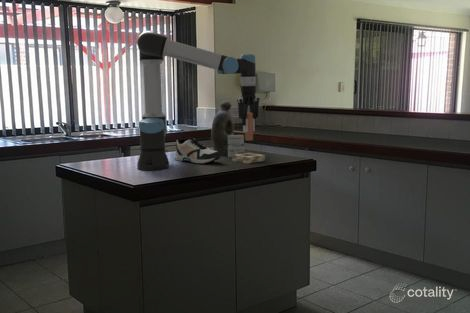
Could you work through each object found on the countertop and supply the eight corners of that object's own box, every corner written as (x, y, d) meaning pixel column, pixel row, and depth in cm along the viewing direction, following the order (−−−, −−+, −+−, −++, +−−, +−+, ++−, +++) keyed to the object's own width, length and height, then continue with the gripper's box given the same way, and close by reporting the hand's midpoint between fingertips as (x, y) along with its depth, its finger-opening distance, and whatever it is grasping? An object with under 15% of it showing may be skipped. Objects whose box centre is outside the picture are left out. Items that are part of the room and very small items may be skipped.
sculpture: (238, 152, 275) (238, 100, 270) (221, 155, 264) (221, 101, 260) (224, 151, 282) (223, 100, 278) (207, 153, 272) (206, 100, 267)
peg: (248, 140, 243) (248, 113, 241) (243, 140, 246) (243, 112, 244) (254, 140, 246) (254, 112, 243) (249, 139, 249) (249, 112, 246)
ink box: (244, 155, 264) (244, 134, 262) (243, 157, 259) (243, 135, 257) (228, 155, 264) (228, 134, 263) (227, 157, 260) (227, 135, 258)
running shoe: (211, 166, 234) (211, 142, 232) (167, 160, 252) (166, 138, 250) (225, 163, 243) (225, 139, 241) (181, 157, 260) (181, 136, 258)
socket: (247, 163, 239) (247, 157, 239) (232, 160, 248) (232, 154, 248) (265, 160, 247) (265, 155, 246) (249, 158, 256) (249, 152, 255)
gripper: (240, 85, 233) (241, 133, 237) (265, 85, 244) (266, 130, 248) (230, 85, 239) (231, 132, 243) (255, 85, 250) (256, 129, 253)
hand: (248, 131), depth 245 cm, fingers closed on peg, 4 cm apart
